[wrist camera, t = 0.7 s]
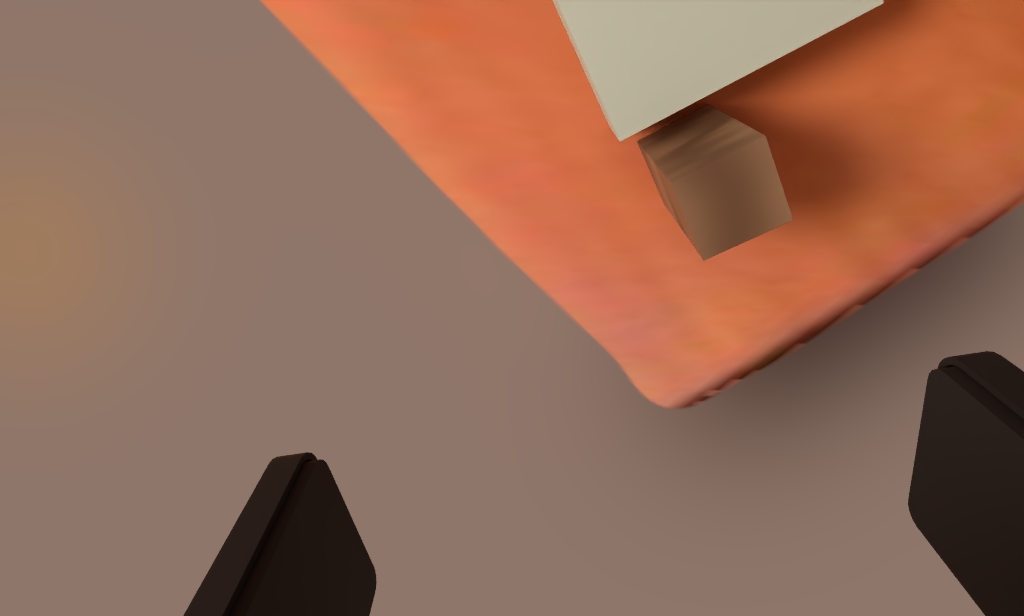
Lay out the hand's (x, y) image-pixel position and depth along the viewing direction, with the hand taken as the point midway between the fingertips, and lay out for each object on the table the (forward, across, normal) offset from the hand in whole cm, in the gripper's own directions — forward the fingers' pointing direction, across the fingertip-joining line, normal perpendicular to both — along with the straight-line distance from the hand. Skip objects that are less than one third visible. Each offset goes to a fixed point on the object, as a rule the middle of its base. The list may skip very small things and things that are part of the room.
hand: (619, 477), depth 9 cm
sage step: (+24, -8, -6) cm, 26 cm away
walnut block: (+25, -7, +2) cm, 26 cm away
